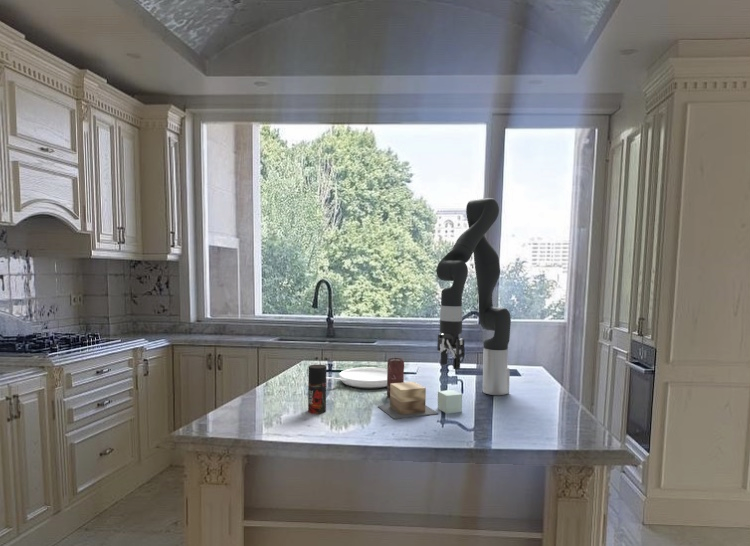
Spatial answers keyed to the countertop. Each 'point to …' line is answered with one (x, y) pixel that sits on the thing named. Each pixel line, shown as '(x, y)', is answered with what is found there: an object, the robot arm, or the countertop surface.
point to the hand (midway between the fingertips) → (450, 366)
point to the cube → (450, 401)
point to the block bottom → (407, 406)
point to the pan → (364, 377)
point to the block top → (407, 391)
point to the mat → (396, 415)
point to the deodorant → (317, 389)
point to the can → (394, 372)
